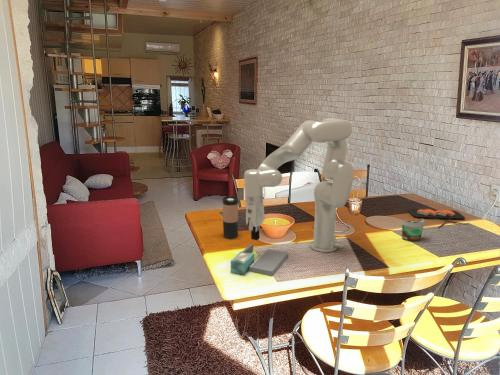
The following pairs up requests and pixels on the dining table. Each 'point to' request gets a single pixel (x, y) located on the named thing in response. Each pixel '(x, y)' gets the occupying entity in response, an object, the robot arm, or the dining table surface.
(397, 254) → the dining table surface
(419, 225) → the food container
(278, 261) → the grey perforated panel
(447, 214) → the sushi plate
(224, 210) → the travel mug
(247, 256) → the teal rectangular box
